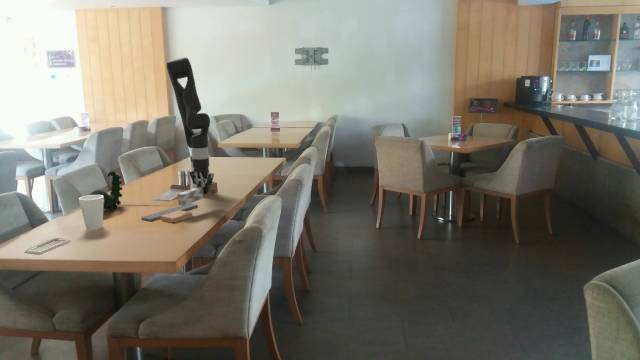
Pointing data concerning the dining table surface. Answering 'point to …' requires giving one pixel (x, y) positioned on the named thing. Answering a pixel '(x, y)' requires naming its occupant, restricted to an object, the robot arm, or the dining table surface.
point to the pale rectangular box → (196, 194)
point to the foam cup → (92, 211)
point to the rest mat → (159, 214)
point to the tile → (176, 216)
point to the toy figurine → (111, 193)
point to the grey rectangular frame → (47, 248)
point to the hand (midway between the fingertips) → (202, 193)
